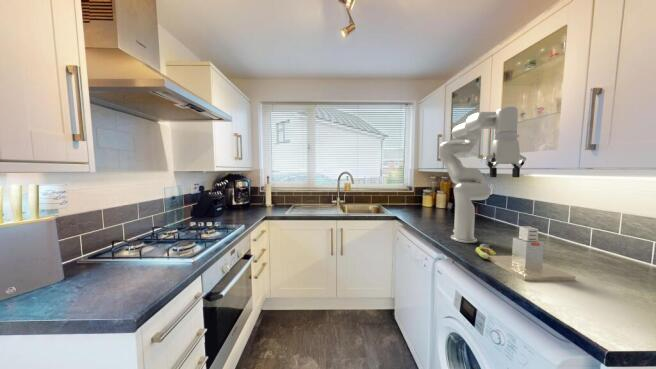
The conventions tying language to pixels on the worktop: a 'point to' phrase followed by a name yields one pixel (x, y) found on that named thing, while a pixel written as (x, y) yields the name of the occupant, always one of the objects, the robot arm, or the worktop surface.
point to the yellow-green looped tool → (485, 251)
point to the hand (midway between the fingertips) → (504, 177)
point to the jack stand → (529, 263)
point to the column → (528, 234)
